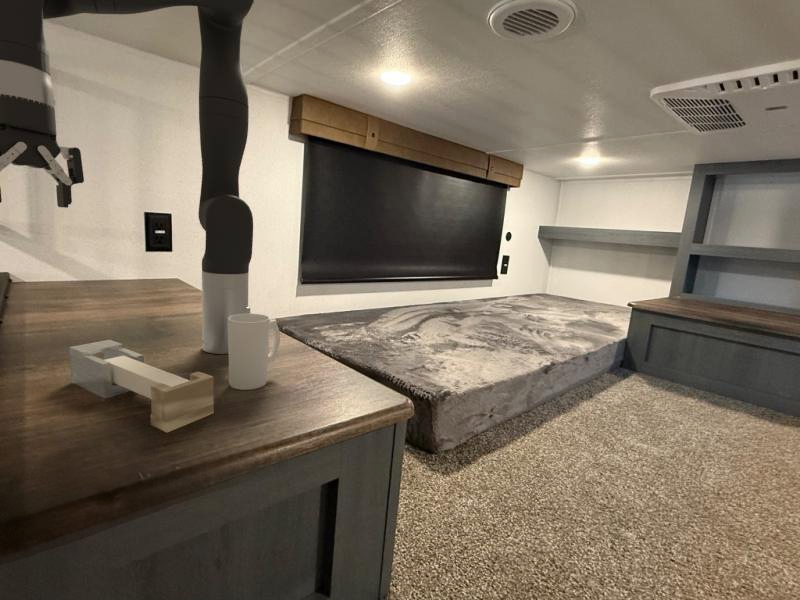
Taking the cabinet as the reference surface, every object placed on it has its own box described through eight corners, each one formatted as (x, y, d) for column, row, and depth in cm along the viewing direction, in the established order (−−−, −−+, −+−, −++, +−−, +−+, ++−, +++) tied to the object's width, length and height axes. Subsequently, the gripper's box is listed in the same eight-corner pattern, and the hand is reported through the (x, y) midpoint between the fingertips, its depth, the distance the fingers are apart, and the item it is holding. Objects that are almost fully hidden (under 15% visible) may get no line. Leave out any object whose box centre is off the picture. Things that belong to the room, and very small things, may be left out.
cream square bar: (103, 378, 61) (102, 360, 61) (124, 372, 64) (123, 355, 64) (174, 409, 53) (174, 389, 53) (194, 402, 56) (194, 382, 56)
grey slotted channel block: (71, 382, 64) (69, 347, 63) (111, 372, 69) (109, 339, 68) (105, 398, 59) (103, 360, 58) (144, 386, 64) (143, 351, 63)
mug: (242, 394, 65) (243, 324, 62) (219, 383, 68) (219, 316, 66) (290, 378, 73) (292, 316, 71) (267, 369, 76) (268, 309, 74)
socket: (150, 424, 53) (149, 385, 52) (198, 406, 59) (197, 371, 58) (167, 432, 51) (166, 392, 50) (213, 413, 58) (213, 376, 57)
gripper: (65, 115, 69) (71, 208, 72) (-53, 85, 57) (-41, 199, 59) (88, 112, 66) (93, 210, 69) (-33, 80, 53) (-21, 201, 56)
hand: (31, 205), depth 64 cm, fingers open, 8 cm apart
